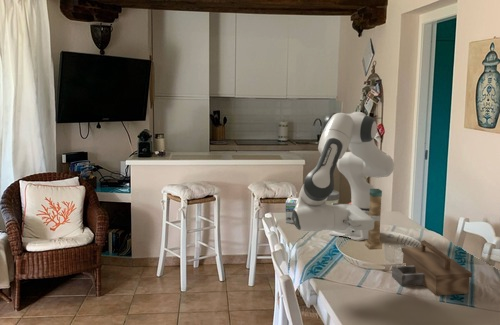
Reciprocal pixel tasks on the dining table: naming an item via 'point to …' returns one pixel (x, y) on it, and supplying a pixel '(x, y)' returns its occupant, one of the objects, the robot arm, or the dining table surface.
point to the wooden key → (375, 210)
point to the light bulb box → (290, 209)
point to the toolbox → (432, 271)
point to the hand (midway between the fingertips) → (377, 216)
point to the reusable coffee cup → (333, 198)
